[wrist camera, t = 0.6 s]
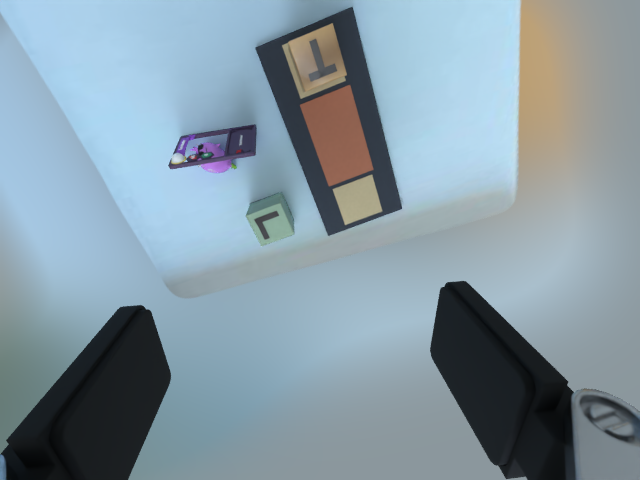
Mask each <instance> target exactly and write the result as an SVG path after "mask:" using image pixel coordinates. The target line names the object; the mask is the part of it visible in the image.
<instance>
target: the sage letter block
mask: <svg viewBox="0 0 640 480" xmlns="http://www.w3.org/2000/svg"><path fill="white" fill-rule="evenodd" d="M246 217H247V219H248V221H249V223H250V225H251V227H252V229H253V231H254V233H255V235H256V237H257V239H258V241H259V243H260V245H261V246H264V245H267V244H270V243H272V242H275V241H278V240H281V239H283V238H286V237H289V236H291V235H294V220H293V218H292V215H291V213H290V211H289V209H288V206H287V204H286V202H285V199H284V197H283V195H282V193H281V192H280V193H278V194H275V195H272V196H270V197H267V198H264V199H262V200H259V201H257V202H254V203H251V204H250V206H249V209H248V211H247V214H246Z"/></svg>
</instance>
